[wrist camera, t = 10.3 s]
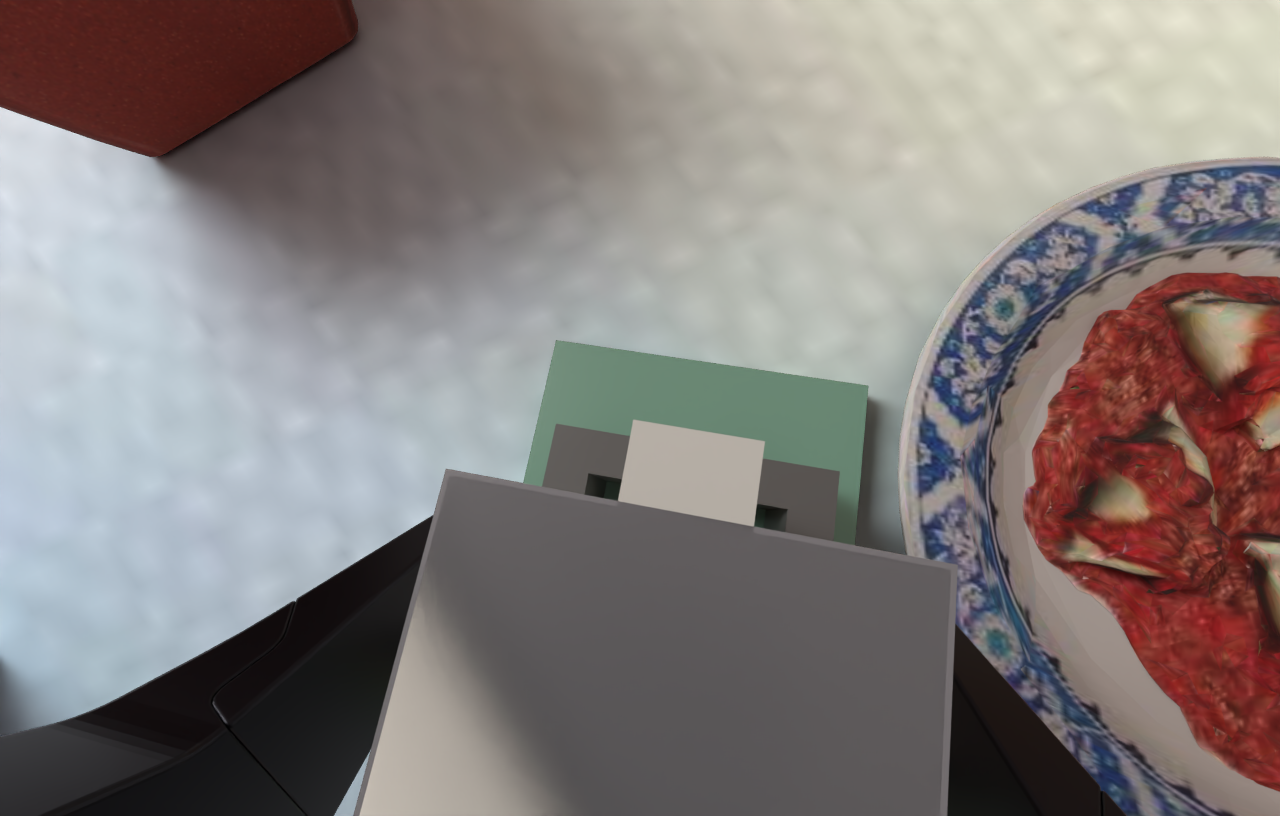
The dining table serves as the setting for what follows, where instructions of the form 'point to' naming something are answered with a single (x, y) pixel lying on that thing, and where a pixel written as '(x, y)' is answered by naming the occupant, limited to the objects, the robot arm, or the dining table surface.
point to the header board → (712, 402)
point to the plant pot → (157, 61)
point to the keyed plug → (661, 655)
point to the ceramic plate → (1120, 479)
